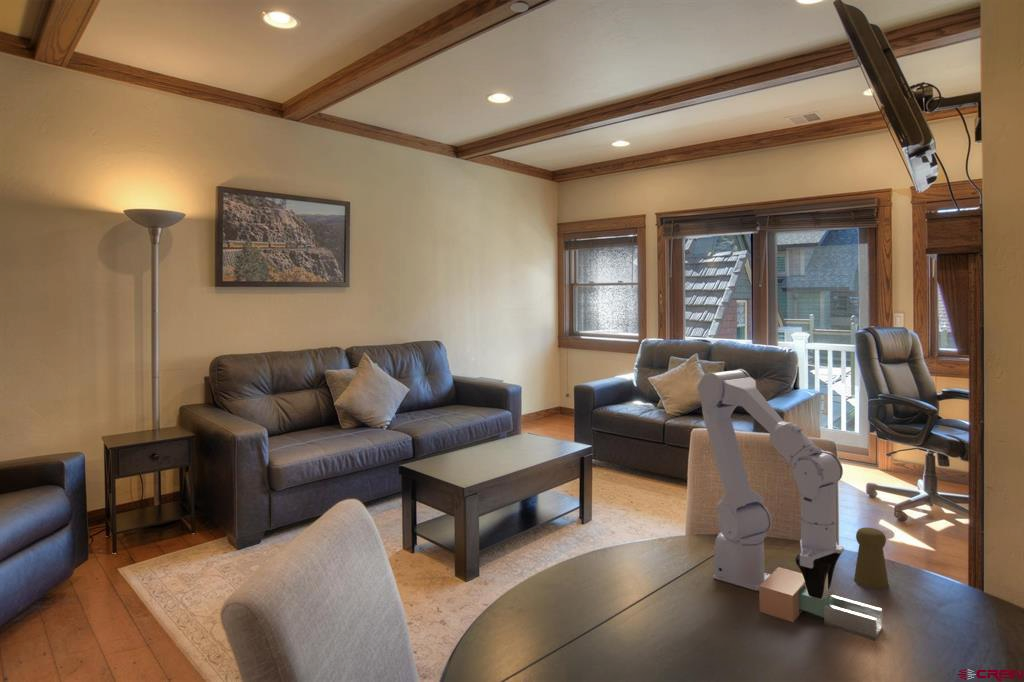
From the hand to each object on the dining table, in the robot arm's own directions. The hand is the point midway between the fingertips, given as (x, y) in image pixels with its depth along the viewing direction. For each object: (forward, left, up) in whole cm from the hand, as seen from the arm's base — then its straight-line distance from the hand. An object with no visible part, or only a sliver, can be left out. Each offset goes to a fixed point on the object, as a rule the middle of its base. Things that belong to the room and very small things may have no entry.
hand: (819, 591), depth 109 cm
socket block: (-6, 0, -5) cm, 8 cm away
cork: (+4, +20, -5) cm, 21 cm away
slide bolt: (-2, 0, -5) cm, 5 cm away
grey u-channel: (+6, 0, -5) cm, 7 cm away
